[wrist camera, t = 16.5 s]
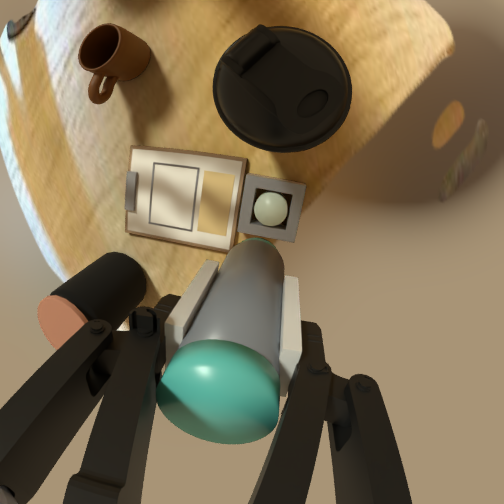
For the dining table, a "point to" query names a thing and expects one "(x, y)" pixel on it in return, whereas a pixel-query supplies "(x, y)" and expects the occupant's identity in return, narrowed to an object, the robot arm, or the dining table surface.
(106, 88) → the mug
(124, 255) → the coffee jar
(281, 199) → the button
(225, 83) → the water bottle
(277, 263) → the marker
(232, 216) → the board
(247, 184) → the button housing
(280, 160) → the dining table surface
